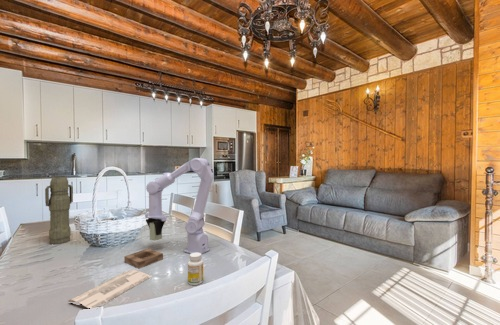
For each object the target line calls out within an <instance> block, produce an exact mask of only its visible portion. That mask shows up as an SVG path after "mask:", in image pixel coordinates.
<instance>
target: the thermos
mask: <svg viewBox="0 0 500 325" xmlns="http://www.w3.org/2000/svg"><path fill="white" fill-rule="evenodd" d="M73 190H74V189H73V185H71V184H69V180H68V178H67V176H64V175H63V176H62V175H61V176H53V177H51V179H50V182H49V185H47V186H46V187H45V189H44V196H45V197H44V199H45V207H48V211H49V216H50V218H49V219H50V220H49V221H50V222H49V223H50V226H49V231H48V239H49V244H50V245H52V244H53V245H61V244H66V243H68V242H70V241H71V234H72V233H71V226H70V209H71V204H72V203H73V202H74V192H73ZM49 191H50V192H49ZM49 193H50V194H49Z"/></svg>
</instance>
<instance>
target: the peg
mask: <svg viewBox="0 0 500 325" xmlns="http://www.w3.org/2000/svg"><path fill="white" fill-rule="evenodd" d="M161 239H163V230H162V231H161V234H160V235H156V230H155V225H154V223H153V222H151V223H150V229H149V240H151V241H154V242H156V241H158V240H159V241H160V240H161Z"/></svg>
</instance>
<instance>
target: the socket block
mask: <svg viewBox="0 0 500 325" xmlns="http://www.w3.org/2000/svg"><path fill="white" fill-rule="evenodd" d="M163 259H164V253H162V252H160V251H157V250H155V249H152V248H146V249H142V250H139V251H136V252H134V253H130V254H127V255H125V256H124V263H125V264H126V265H127V264H128V265H130V266H133V267H134V268H135V269H136V268H137V269H139V270H140V269H142V268H145V267H147V266H150V265H152V264H154V263H157V262H159V261H162V260H163Z"/></svg>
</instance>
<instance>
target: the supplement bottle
mask: <svg viewBox="0 0 500 325" xmlns="http://www.w3.org/2000/svg"><path fill="white" fill-rule="evenodd" d="M203 281H204V259H202V254H201V253H198V252H195V253H191V254H190V253H189V260H188V262H187V283H188V284H189V285H191V286H198V285H200V284H202V283H203Z"/></svg>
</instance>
